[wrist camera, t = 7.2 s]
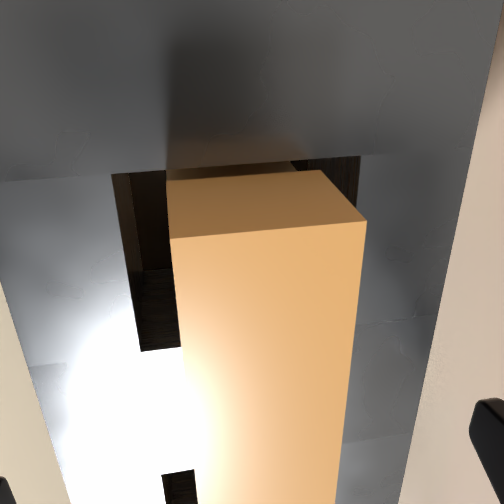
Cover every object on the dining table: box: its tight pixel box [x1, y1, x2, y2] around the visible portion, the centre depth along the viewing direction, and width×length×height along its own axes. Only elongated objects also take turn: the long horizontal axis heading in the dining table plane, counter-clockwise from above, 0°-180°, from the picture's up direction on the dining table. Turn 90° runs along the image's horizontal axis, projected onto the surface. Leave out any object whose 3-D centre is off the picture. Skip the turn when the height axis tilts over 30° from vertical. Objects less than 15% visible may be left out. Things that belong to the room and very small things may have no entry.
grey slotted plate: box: [0, 0, 504, 504], centre depth 11 cm, size 24×8×3 cm, turn 1°
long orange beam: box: [166, 161, 367, 504], centre depth 11 cm, size 2×10×5 cm, turn 1°
